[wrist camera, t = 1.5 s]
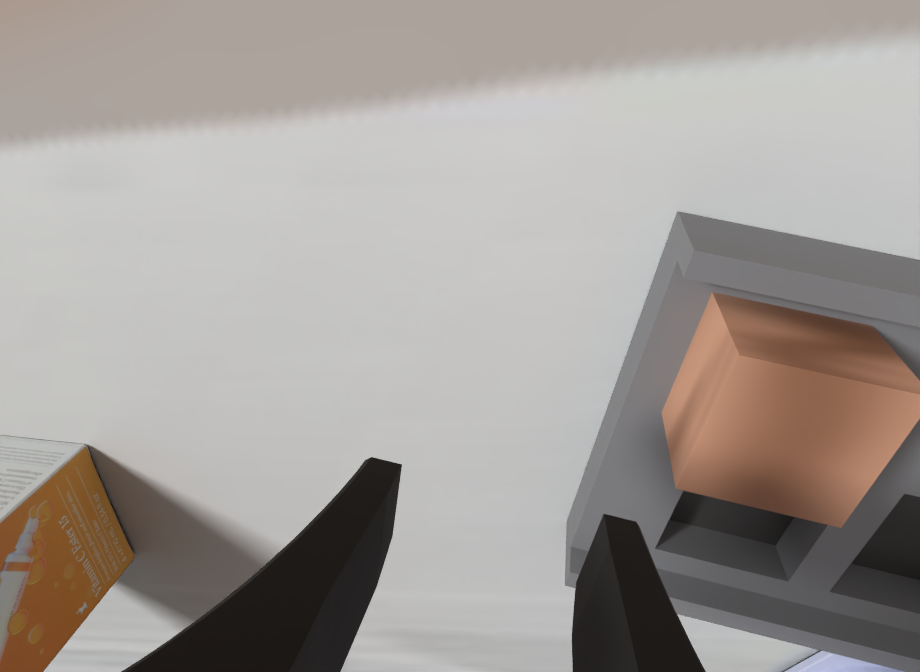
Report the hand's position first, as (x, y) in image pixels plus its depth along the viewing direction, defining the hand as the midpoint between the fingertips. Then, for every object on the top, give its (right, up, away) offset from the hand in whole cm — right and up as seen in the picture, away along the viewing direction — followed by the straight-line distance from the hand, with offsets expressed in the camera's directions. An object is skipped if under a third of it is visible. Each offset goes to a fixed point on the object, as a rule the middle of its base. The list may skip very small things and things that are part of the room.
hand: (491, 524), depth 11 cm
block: (+9, +3, +7) cm, 11 cm away
